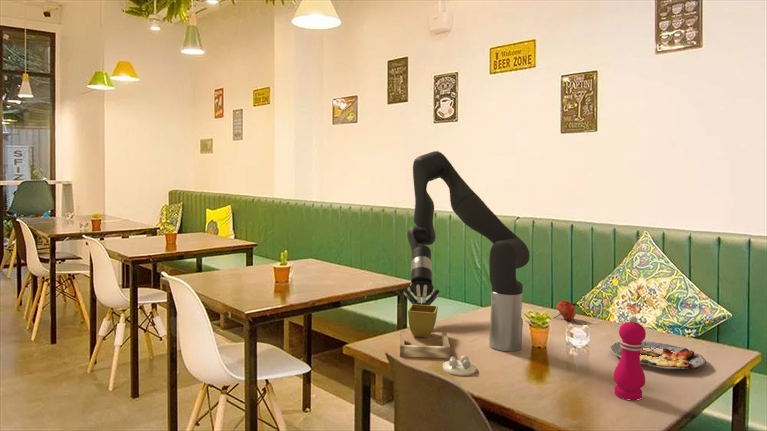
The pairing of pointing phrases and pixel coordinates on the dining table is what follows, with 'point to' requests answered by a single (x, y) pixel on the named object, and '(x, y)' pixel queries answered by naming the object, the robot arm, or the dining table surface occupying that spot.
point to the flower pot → (422, 319)
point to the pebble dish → (459, 366)
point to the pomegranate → (566, 309)
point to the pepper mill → (630, 361)
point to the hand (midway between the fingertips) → (421, 314)
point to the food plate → (665, 356)
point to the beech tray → (425, 349)
